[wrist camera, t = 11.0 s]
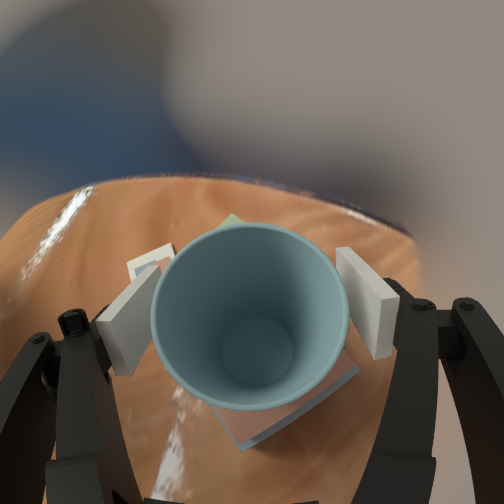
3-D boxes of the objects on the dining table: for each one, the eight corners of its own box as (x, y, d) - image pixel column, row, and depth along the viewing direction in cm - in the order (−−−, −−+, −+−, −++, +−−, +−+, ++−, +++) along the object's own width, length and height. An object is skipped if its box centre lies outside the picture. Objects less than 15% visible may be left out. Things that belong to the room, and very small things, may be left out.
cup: (264, 281, 22) (259, 192, 13) (334, 355, 19) (388, 313, 10) (184, 343, 20) (119, 293, 11) (251, 425, 17) (234, 451, 8)
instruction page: (127, 263, 34) (126, 261, 33) (171, 244, 34) (170, 242, 34) (142, 323, 30) (141, 322, 30) (191, 302, 31) (190, 301, 30)
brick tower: (181, 346, 28) (151, 327, 21) (278, 284, 31) (278, 247, 24) (246, 445, 23) (235, 462, 16) (349, 374, 26) (374, 365, 19)
